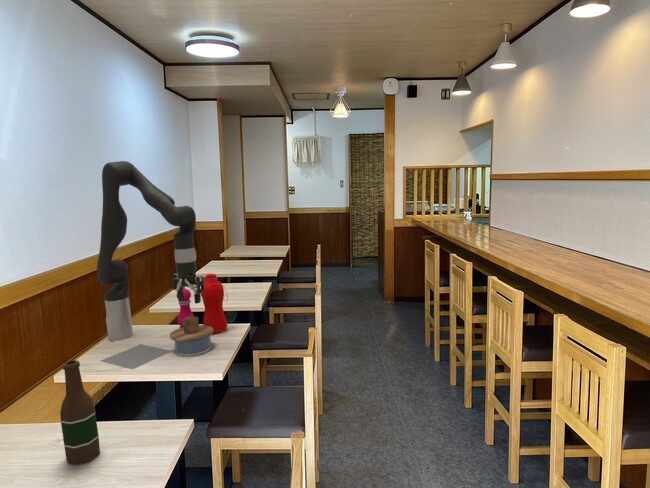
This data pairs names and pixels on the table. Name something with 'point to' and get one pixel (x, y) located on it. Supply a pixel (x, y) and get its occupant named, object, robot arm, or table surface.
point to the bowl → (193, 346)
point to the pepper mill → (184, 307)
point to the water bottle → (214, 304)
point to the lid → (191, 330)
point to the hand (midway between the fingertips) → (189, 301)
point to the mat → (136, 356)
